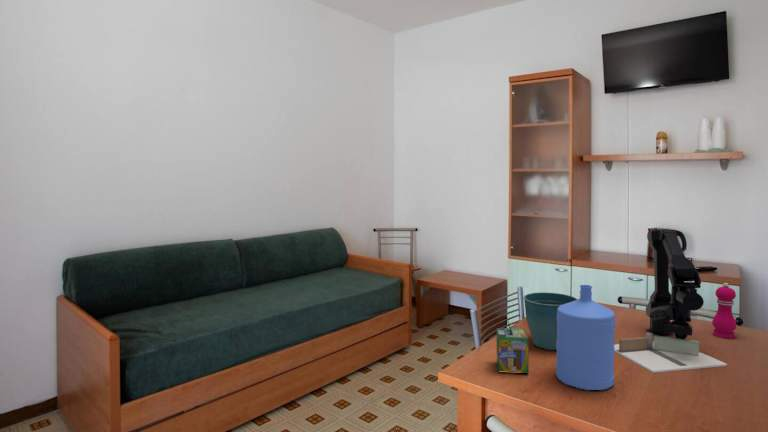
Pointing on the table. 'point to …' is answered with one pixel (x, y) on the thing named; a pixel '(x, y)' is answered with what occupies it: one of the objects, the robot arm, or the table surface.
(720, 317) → the pepper mill
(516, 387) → the table surface
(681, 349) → the hinged panel
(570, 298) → the flower pot
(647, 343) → the card
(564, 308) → the water jug
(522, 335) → the chalk box
